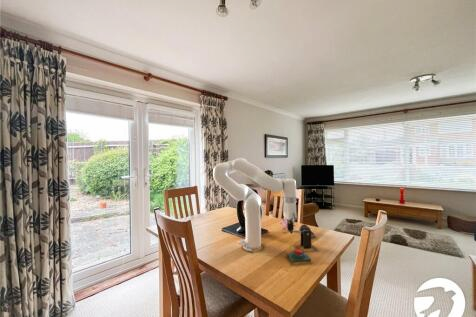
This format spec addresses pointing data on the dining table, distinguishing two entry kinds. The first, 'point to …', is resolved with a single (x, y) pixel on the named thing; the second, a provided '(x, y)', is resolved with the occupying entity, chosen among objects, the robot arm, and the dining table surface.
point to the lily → (285, 223)
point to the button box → (298, 257)
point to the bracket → (306, 238)
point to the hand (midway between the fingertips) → (290, 229)
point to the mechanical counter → (308, 229)
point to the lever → (295, 231)
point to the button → (298, 251)
